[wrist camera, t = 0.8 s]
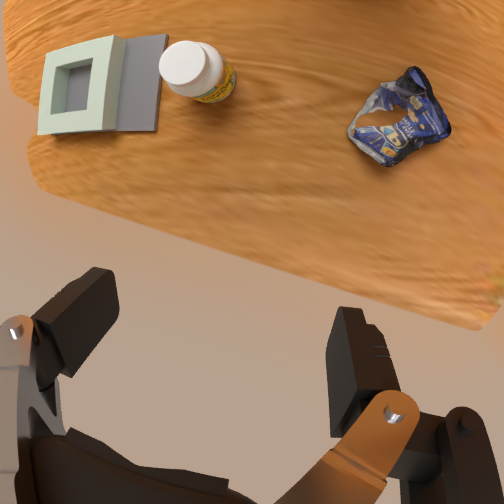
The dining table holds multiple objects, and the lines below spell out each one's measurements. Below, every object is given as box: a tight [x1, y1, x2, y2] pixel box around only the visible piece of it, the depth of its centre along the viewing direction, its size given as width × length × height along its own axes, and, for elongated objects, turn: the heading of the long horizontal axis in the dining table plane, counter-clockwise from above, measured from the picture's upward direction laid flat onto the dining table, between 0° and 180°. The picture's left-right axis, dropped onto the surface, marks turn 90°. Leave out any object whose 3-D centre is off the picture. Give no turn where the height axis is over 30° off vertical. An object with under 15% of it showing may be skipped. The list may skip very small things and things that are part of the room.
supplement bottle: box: [159, 41, 235, 103], centre depth 23 cm, size 5×5×10 cm
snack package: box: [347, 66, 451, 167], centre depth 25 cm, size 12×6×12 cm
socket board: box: [38, 34, 169, 135], centre depth 27 cm, size 12×17×4 cm
